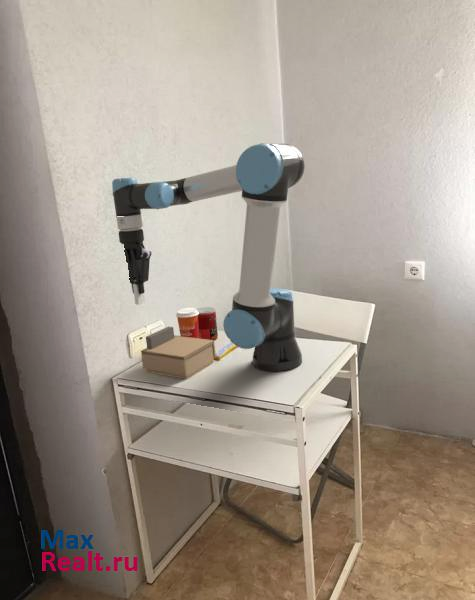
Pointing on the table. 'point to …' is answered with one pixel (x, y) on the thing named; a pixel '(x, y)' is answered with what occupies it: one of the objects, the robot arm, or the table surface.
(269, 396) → the table surface
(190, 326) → the paper cup
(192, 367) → the box
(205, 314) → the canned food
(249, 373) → the table surface
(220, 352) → the candy bar
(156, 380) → the table surface
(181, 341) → the box lid
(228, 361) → the table surface
